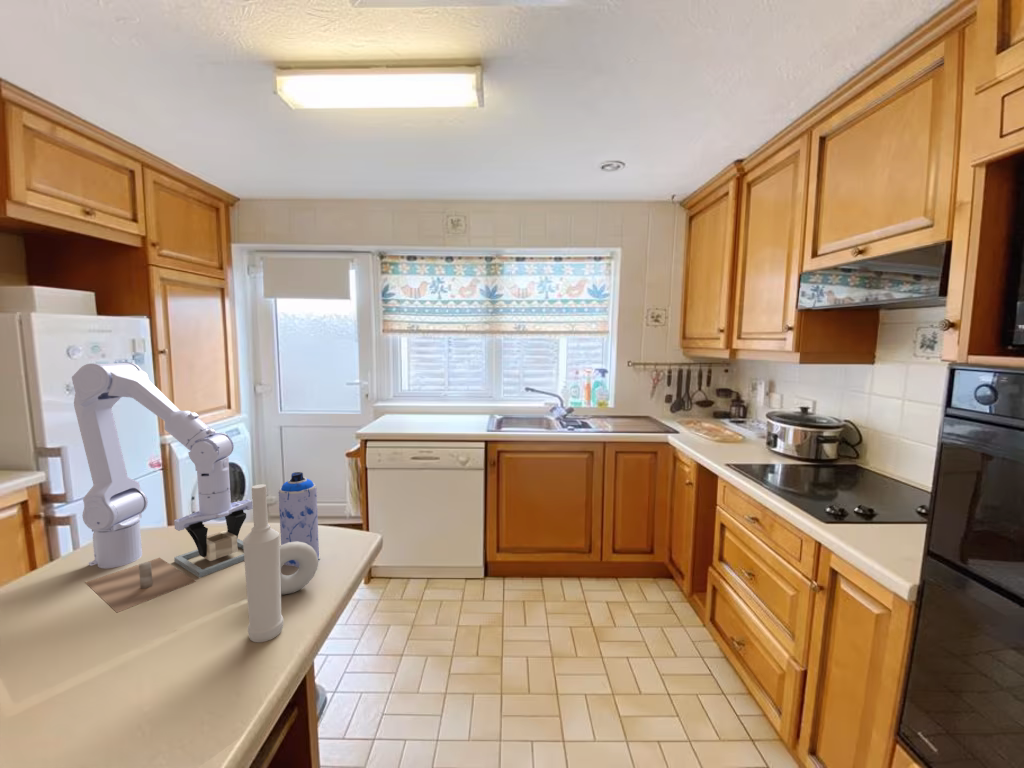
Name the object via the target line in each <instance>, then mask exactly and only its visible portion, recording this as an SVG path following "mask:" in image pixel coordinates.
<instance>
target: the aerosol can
mask: <svg viewBox="0 0 1024 768" xmlns="http://www.w3.org/2000/svg"><path fill="white" fill-rule="evenodd" d="M290 477H291V478H290V479H288V480H287V481H285V482H284V483H283V484H282V485H281V487H280V488H279V489H278V505H279V506H278V509H279V510H278V511H279V528H280V529H279V530H280V533H279V534H280V545H283V544H286V543H288V542H296V541H298V542H303V543H306V544H308V545H310V546H311V547H313V549H314V550H315V552H316V553H317V558H318V559H319V554H320V545H319V544H320V543H319V518H318V495H317V493H318V492H317V485H316V483H315V482H313V480H311V479H309V478H307V477H304V473H303V471H302V472H301V471H299V472H298V471H296V472H292V473H291V476H290ZM284 565H285V566H291V567H295V568H297V569H298V568H299V565H300V564H299V562H298V561H297V560H290V561H287V562H286V563H285V564H284Z"/></svg>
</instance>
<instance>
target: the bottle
mask: <svg viewBox="0 0 1024 768" xmlns="http://www.w3.org/2000/svg"><path fill="white" fill-rule="evenodd" d="M267 493H268V491H267V484H266V483H265V484H262V483H261V484H255V485H252V486H251V498H252V503H253V509H252V514H253V515H252V516H253V526H252V527H251V531H250V532H249V533H248V534H247V535H246V536H245V537H244V538H243V539H242V541H243V548H244V550H243V554H244V569H245V582H246V586H245V587H246V596H247V597H246V598H247V607H248V608H247V609H248V623H249V624H248V625H247V634H248V638H249V640H250V641H251V642H253V643H263V642H267V641H270V640H273V639H274V638H275V637H277V636H279V635H280V633H282V631H283V627H284V617H283V615H282V594H281V578H280V545H281V533H279V531H278V530H275V528H272V527H271V525H270V524H269V523H268V522H269V520H268V518H269V517H268V503H267V501H268V500H267V499H268V498H267V497H268V495H267Z"/></svg>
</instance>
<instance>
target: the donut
mask: <svg viewBox="0 0 1024 768" xmlns="http://www.w3.org/2000/svg"><path fill="white" fill-rule="evenodd" d="M290 560H297V561H298V562H299V564H300V565H299V568H297V570H296V571H295V572H294V573H292V574H289V575H286V574H283V573H282V568H283V566H284V565H285V563H286V562H287V561H290ZM318 567H319V561H318V558H317V553H316V552H315V550H314V549H313V547H311V546H310V545H308V544H306V543H303V542H298V541H296V542H288V543H286V544H283V545H281V544H280V578H281V595H289V594H294V593H296V592H297V591H300V590H301V589H303V588H304V587H306V586H307V585H308V584H309V583H310V582H311V580H312V579H313V578H314V577H315V574H316V572H317V570H318Z"/></svg>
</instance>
